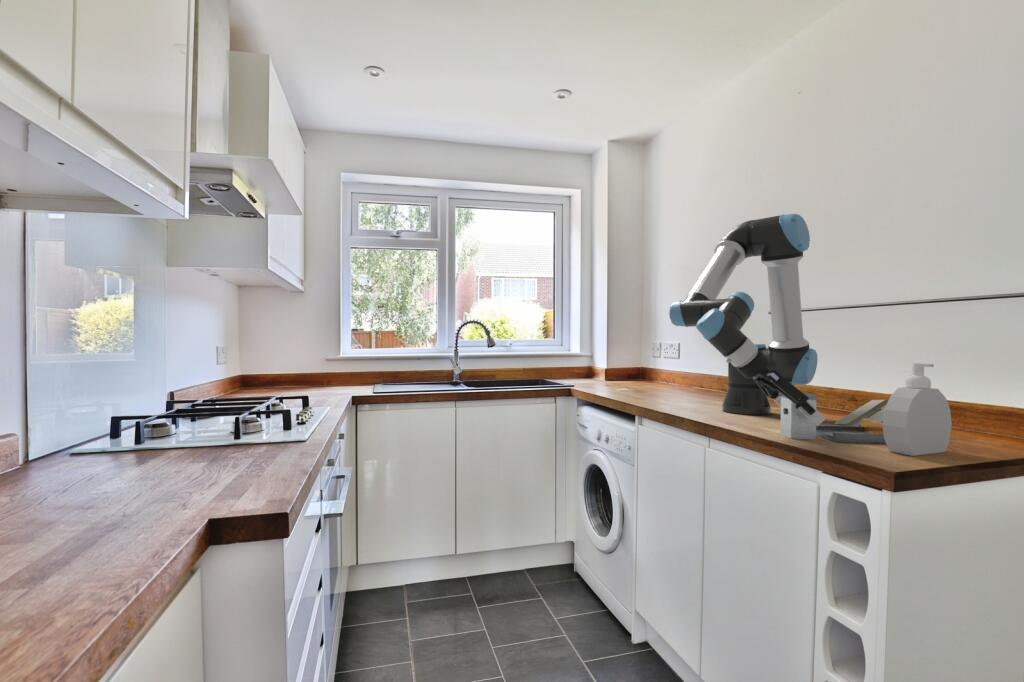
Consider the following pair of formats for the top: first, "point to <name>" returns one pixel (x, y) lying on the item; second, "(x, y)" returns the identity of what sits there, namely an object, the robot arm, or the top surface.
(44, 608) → the top surface
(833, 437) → the hitch plate
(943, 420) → the soap bottle
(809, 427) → the lock block
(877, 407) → the gray slanted bracket
